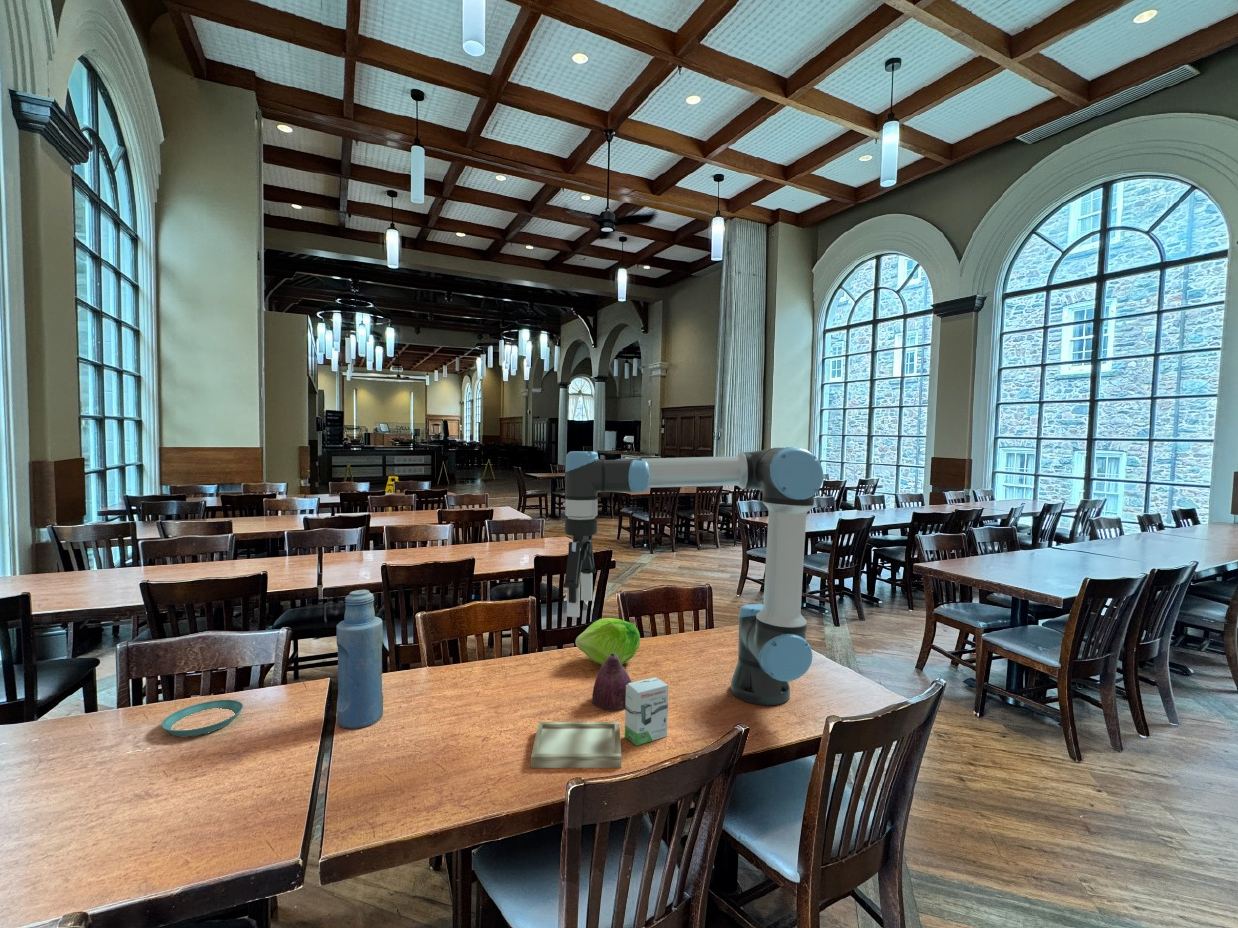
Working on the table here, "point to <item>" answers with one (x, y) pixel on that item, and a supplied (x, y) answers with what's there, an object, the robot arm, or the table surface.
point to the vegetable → (611, 685)
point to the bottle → (359, 663)
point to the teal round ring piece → (187, 711)
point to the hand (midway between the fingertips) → (580, 607)
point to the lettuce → (609, 640)
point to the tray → (577, 745)
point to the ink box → (646, 710)
